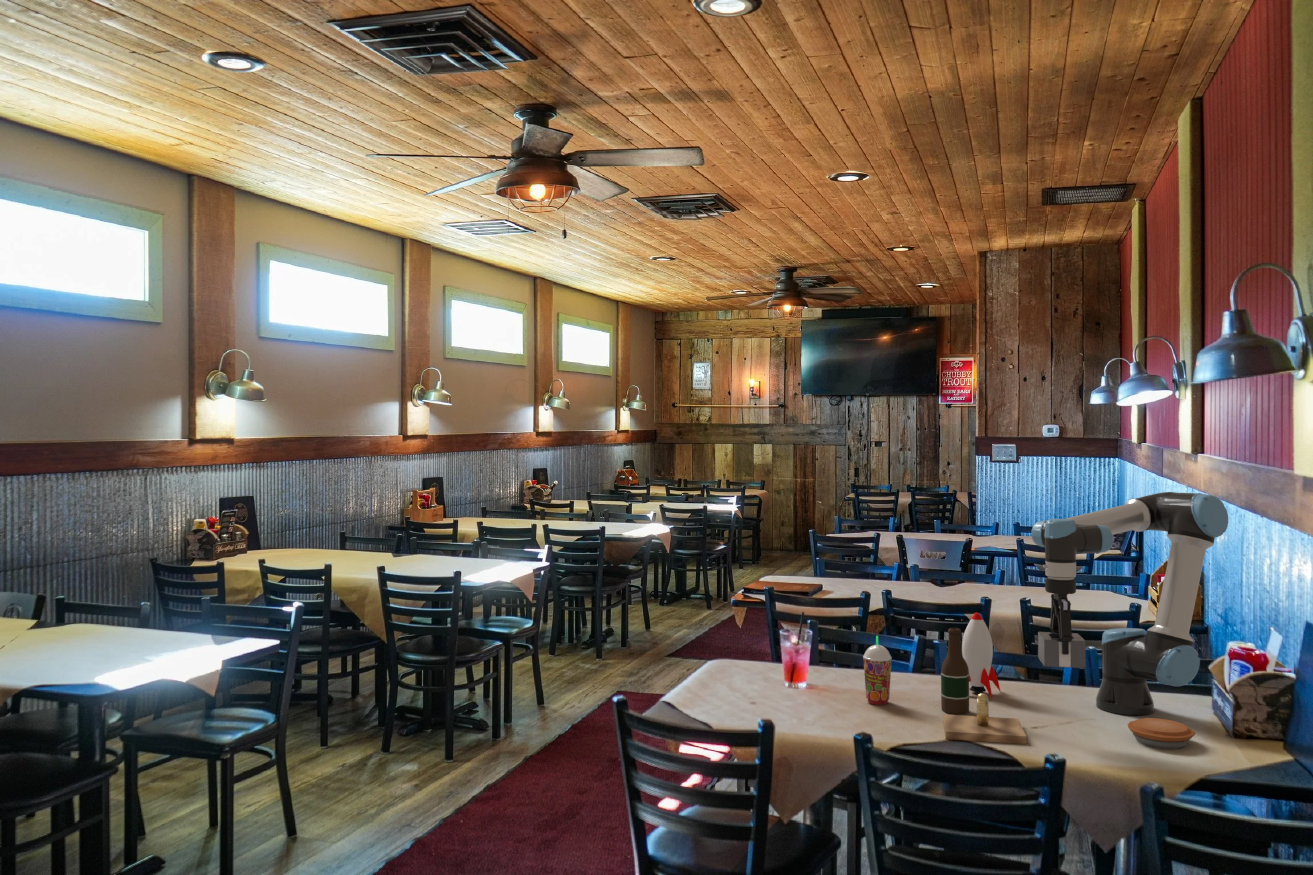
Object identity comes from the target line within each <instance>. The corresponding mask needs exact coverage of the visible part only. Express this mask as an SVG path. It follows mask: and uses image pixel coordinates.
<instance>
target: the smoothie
mask: <svg viewBox="0 0 1313 875" xmlns="http://www.w3.org/2000/svg"><path fill="white" fill-rule="evenodd" d="M862 658H863V671H864V687H865V698H866V699H867V702H868V703H870V704H872V705H875V706H877V705H878V706H883V705H886V704H888V702H889V699H890V696H891V695H890V694H891V693H890V690H891V672H892V660H893V659H892V656H891V654H890V652H889V650H888V649H887V648H886V647H884V646H883V645H881V644H879V635H876V636H875V644H873V645H871V646H869V647H868V648H867V649H866V650H865V652H864V654H863V655H862Z"/></svg>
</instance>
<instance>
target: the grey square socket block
mask: <svg viewBox="0 0 1313 875" xmlns="http://www.w3.org/2000/svg"><path fill="white" fill-rule="evenodd" d="M1064 636H1066V635H1064ZM1057 638H1059V639H1060V636H1059V633H1056V632H1052V631H1050V632H1049V631H1047V632H1046V631H1038V632H1037V646H1038V647H1037V659H1038V660H1039V661H1040V662H1041V663H1042V665H1043V666H1044V667H1053V668H1060V667H1059V642H1057ZM1086 650H1087V649H1086V640H1085V639H1084V638H1083V637H1082V636H1081V635H1080V634H1079V633H1077V632H1076V633H1074V632H1072V641H1071V642H1070V651H1071V667H1070V668H1075V669H1076V668H1077V669H1086V666H1087V665H1086V664H1087V663H1086V662H1087V661H1086V658H1087V657H1086Z"/></svg>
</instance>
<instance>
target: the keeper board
mask: <svg viewBox="0 0 1313 875" xmlns="http://www.w3.org/2000/svg"><path fill="white" fill-rule="evenodd" d="M942 724H943V730H944V731H943V732H944V736H945V740H953V741H955V740H956V741H970V742H971V741H972V742H973V741H974V742H985V743H986V742H988V743H989V742H991V743H1005V744H1016V745H1017V744H1020V745H1027V735H1026V733H1025V730H1024V728H1023V727H1022V723H1021V721H1020V719H1019V718H1017V717H1016V718H1014V717H1013V718H1012V717H997V716H989V726H986V727H983V726H978V725H977V715H975V716H974V715H965V714H962V715H954V714H947V713H946V714H945V713H944V714H942Z"/></svg>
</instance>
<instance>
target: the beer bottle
mask: <svg viewBox="0 0 1313 875" xmlns="http://www.w3.org/2000/svg"><path fill="white" fill-rule="evenodd" d="M947 633H948V640H947V641H948V642H947V644H948V645H947V647H948V648H947V654H946V657H945V658H944V660H943V661H942V664H941V668H940V669H941V670H940V698H941V699H940V701H941V703H940V704H941V711H942V712H944V714H945V713H946V715H967V714H968V712H969V711H970V684H969V669H968V665H967V663H966V661H965V660H964V658H963V654H962V641H961V633H962V630H961V629H960V628H959V627H950V628H948V630H947Z"/></svg>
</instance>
